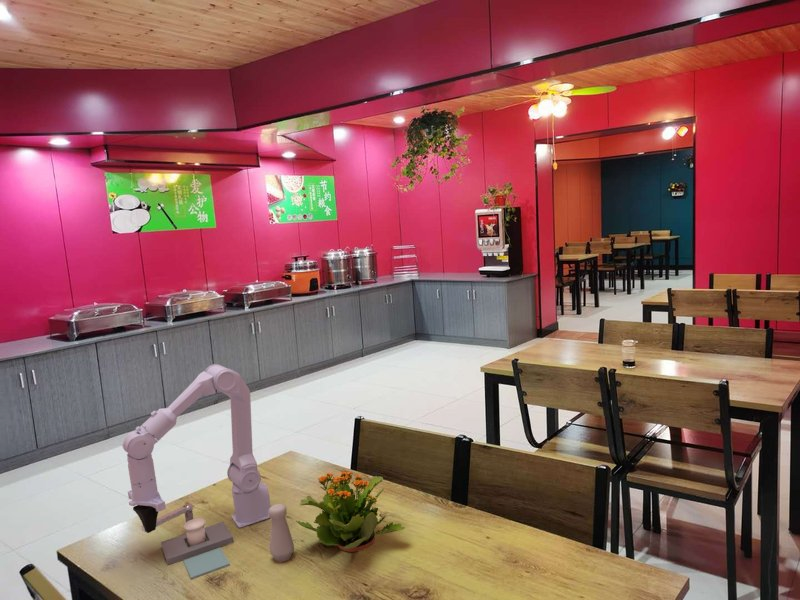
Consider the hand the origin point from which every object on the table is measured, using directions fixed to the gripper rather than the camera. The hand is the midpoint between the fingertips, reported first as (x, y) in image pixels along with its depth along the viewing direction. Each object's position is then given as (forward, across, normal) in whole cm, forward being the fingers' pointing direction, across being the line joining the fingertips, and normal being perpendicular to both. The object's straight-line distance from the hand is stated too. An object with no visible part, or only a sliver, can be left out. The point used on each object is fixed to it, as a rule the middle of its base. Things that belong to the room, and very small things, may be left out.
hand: (150, 530), depth 145 cm
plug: (+6, +6, +8) cm, 12 cm away
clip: (0, -1, +6) cm, 6 cm away
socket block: (+6, +6, +8) cm, 12 cm away
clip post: (+6, -2, +11) cm, 13 cm away
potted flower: (+7, +42, +30) cm, 52 cm away
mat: (+6, +16, +5) cm, 18 cm away
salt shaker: (+7, +30, +16) cm, 35 cm away
